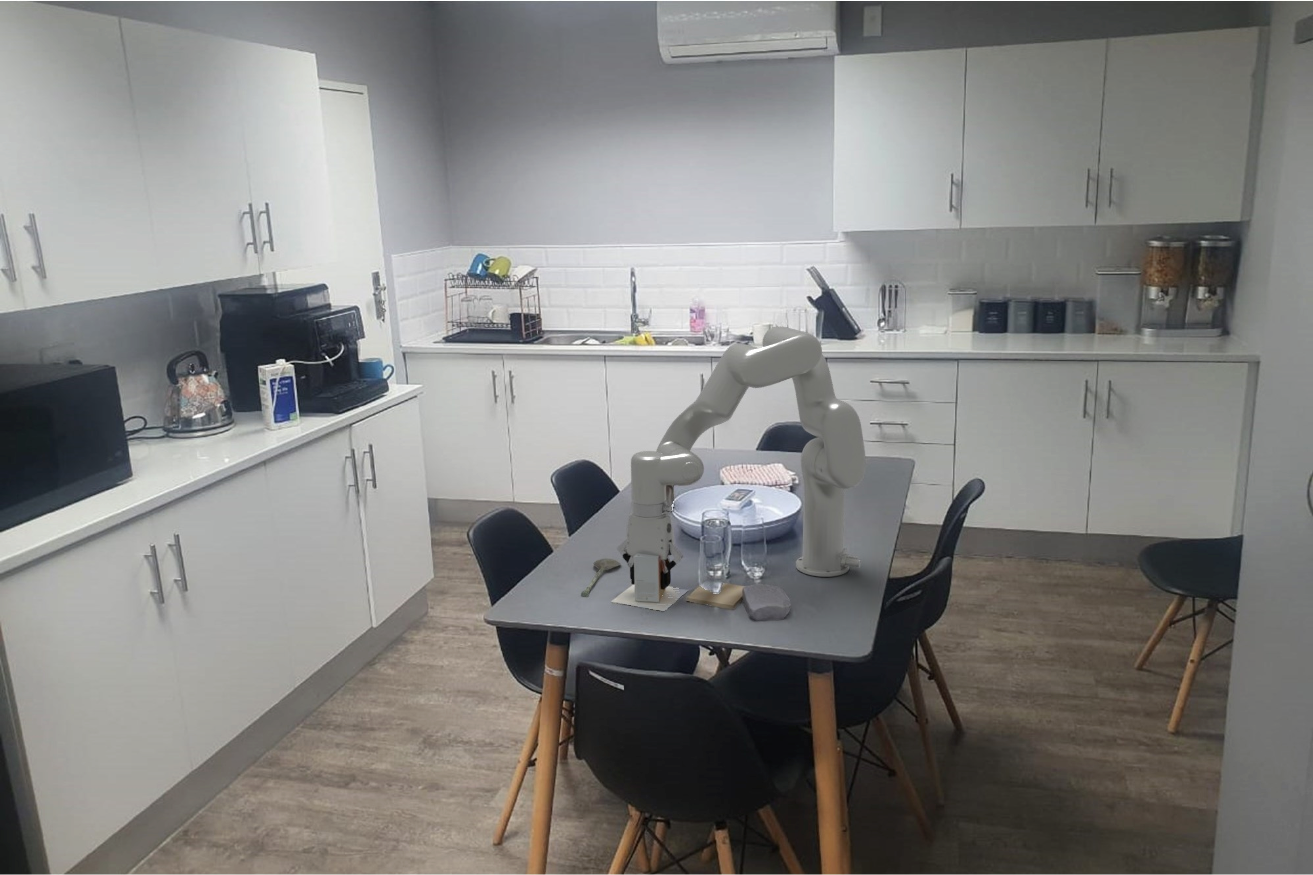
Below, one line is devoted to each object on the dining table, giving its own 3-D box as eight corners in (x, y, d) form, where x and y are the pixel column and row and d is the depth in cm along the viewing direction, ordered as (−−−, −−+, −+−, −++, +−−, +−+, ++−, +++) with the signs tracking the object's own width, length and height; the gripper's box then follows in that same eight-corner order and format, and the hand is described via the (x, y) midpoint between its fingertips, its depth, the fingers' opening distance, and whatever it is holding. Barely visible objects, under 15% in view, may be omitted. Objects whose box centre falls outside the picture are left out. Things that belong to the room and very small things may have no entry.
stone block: (781, 605, 219) (737, 599, 217) (785, 585, 218) (742, 579, 216) (792, 629, 207) (747, 623, 206) (798, 609, 206) (751, 602, 205)
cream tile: (689, 590, 223) (689, 589, 223) (664, 612, 211) (664, 611, 211) (637, 581, 228) (637, 580, 228) (611, 602, 217) (611, 601, 217)
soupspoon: (624, 567, 240) (598, 566, 242) (623, 553, 240) (598, 553, 241) (598, 599, 220) (570, 598, 221) (597, 584, 219) (569, 583, 220)
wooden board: (750, 591, 221) (750, 587, 221) (732, 609, 212) (732, 605, 212) (705, 584, 226) (705, 579, 226) (686, 601, 217) (686, 597, 216)
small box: (659, 603, 215) (658, 557, 213) (634, 601, 216) (633, 556, 214) (666, 589, 223) (665, 545, 220) (642, 587, 224) (641, 543, 222)
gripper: (692, 508, 214) (692, 585, 219) (621, 498, 222) (623, 573, 226) (678, 518, 208) (678, 597, 212) (605, 508, 215) (608, 584, 219)
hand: (650, 584), depth 219 cm, fingers closed on small box, 6 cm apart
